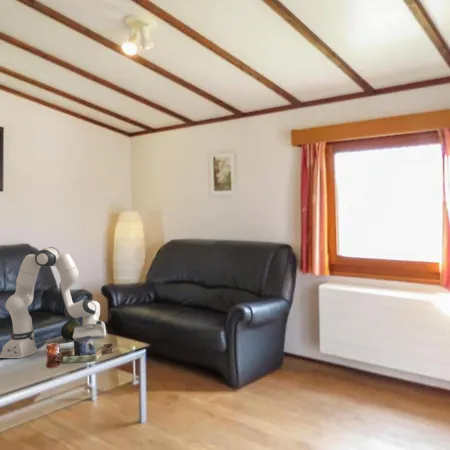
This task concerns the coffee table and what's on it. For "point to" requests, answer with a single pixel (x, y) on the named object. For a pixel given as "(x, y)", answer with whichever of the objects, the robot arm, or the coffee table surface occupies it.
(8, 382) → the coffee table surface
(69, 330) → the squash
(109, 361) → the coffee table surface
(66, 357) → the trap lane
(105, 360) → the coffee table surface
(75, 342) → the small box
